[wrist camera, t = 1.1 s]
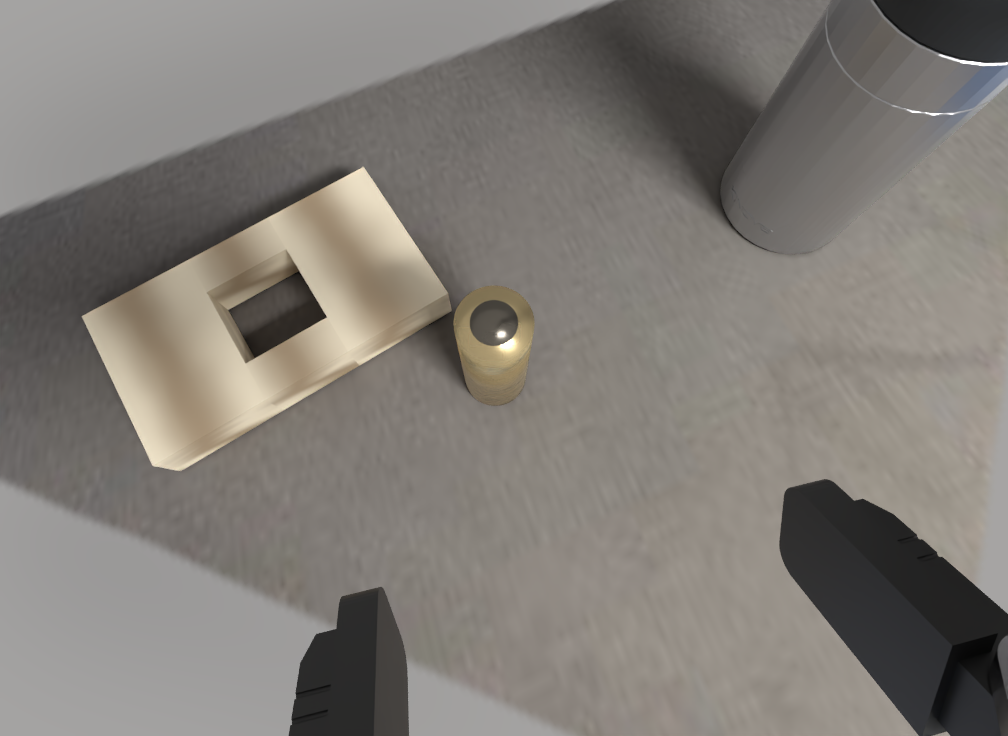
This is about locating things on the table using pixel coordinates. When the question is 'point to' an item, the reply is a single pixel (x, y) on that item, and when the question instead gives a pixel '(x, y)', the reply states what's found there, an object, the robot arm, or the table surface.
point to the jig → (220, 345)
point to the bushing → (494, 343)
